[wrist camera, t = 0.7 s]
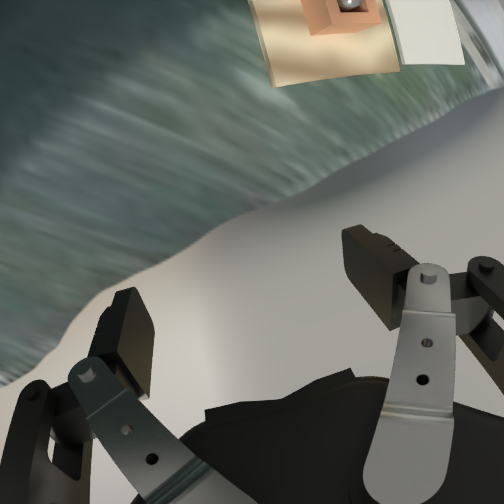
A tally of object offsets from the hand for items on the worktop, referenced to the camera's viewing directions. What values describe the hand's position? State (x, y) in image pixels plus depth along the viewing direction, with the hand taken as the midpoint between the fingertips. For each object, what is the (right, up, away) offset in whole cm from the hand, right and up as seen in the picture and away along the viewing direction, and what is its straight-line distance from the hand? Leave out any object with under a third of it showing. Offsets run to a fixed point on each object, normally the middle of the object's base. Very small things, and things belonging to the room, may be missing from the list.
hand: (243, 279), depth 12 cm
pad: (+24, +32, +18) cm, 44 cm away
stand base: (+8, +28, +17) cm, 34 cm away
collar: (+9, +27, +15) cm, 32 cm away
